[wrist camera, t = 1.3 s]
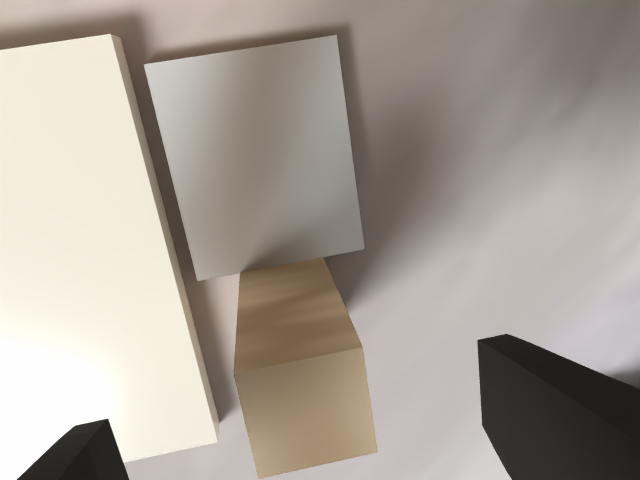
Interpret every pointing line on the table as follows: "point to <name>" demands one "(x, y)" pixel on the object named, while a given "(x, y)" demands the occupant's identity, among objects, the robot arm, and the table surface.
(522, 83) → the table surface
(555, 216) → the table surface
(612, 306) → the table surface
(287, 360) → the grey plate tan block
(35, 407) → the trivet
